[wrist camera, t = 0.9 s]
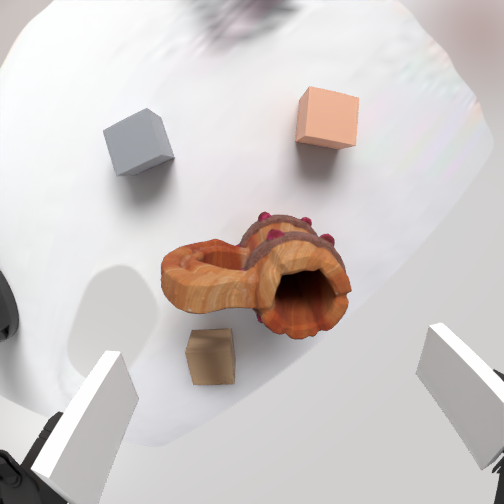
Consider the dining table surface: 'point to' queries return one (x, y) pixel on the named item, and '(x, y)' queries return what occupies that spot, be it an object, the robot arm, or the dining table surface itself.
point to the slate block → (138, 143)
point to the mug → (263, 276)
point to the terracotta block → (327, 119)
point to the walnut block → (211, 357)
